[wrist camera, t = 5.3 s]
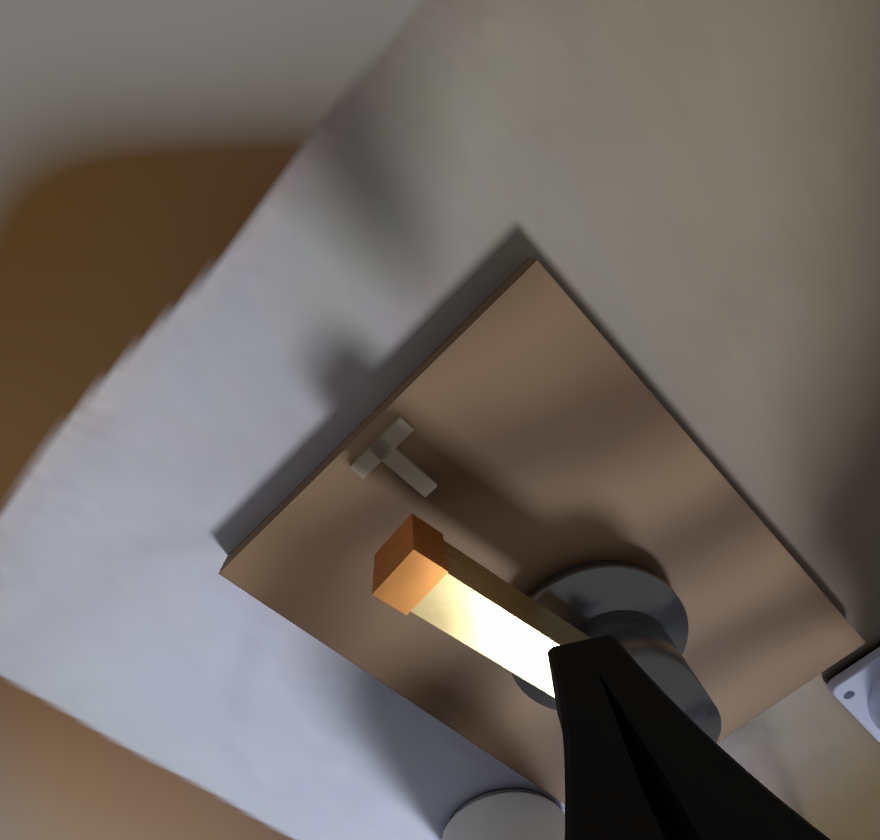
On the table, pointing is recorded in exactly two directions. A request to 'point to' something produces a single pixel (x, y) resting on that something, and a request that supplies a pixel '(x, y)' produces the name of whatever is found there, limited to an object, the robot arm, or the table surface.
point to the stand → (536, 526)
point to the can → (507, 817)
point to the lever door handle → (543, 614)
